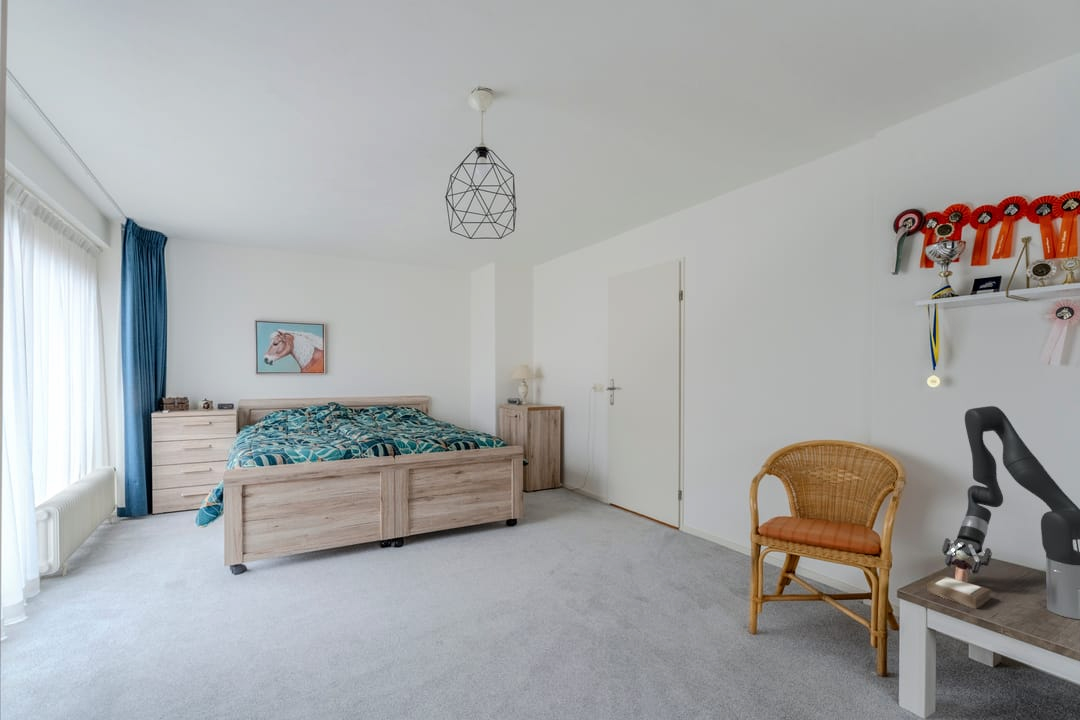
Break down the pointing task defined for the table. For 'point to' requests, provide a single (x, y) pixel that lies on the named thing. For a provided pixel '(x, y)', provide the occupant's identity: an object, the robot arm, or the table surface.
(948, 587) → the stand
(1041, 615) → the table surface
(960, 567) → the grandmother figurine
